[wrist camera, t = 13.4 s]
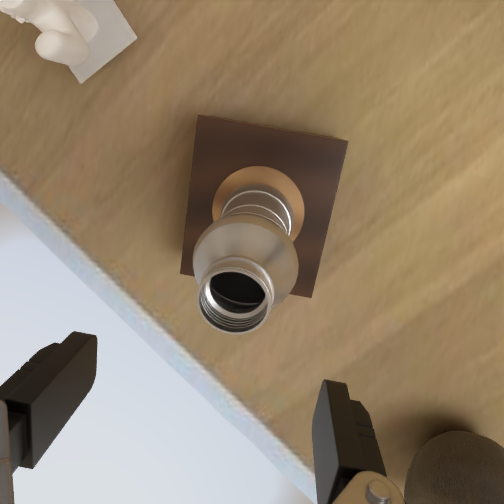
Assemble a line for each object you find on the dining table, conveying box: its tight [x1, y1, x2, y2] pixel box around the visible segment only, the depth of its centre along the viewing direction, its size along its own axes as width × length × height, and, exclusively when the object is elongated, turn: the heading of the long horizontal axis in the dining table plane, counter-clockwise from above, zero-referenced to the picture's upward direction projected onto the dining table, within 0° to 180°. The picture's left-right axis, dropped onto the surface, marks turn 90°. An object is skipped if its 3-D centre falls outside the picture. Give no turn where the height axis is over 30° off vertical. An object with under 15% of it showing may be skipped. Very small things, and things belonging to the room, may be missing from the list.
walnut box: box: [180, 115, 348, 298], centre depth 41 cm, size 16×14×6 cm
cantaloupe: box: [404, 431, 504, 504], centre depth 45 cm, size 14×14×15 cm
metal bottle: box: [193, 183, 299, 335], centre depth 28 cm, size 6×7×20 cm
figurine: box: [0, 0, 137, 84], centre depth 33 cm, size 7×9×15 cm
